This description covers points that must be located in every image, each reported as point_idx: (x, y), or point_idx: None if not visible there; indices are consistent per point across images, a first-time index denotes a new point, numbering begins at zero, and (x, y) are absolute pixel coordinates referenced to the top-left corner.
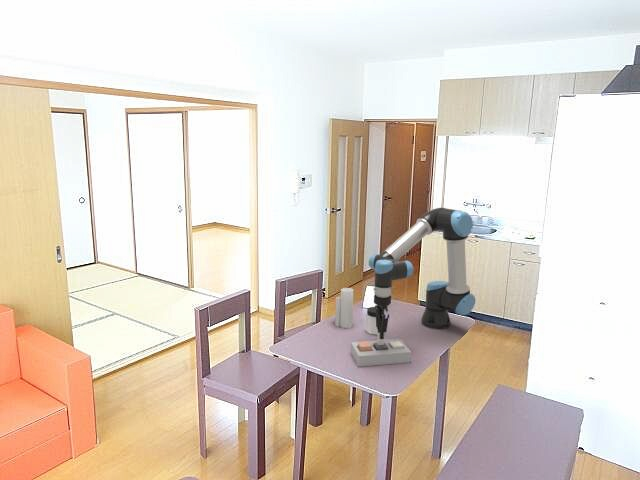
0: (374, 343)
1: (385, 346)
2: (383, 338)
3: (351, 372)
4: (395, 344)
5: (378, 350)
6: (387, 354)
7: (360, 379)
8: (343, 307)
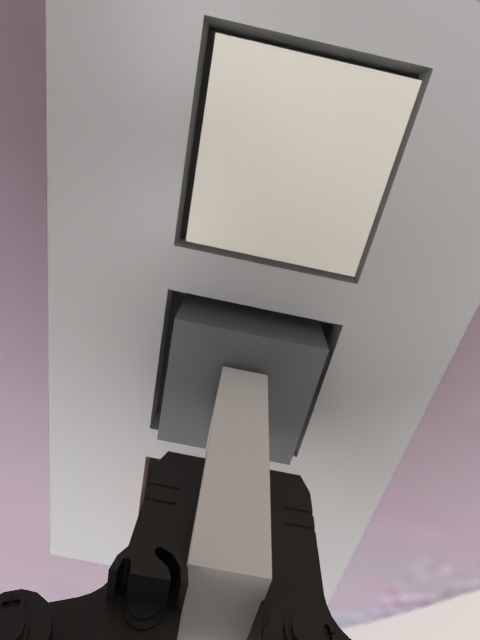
0: (172, 438)
1: (302, 368)
2: (307, 491)
3: (359, 572)
4: (311, 200)
5: (307, 438)
6: (429, 394)
7: (464, 569)
8: None
